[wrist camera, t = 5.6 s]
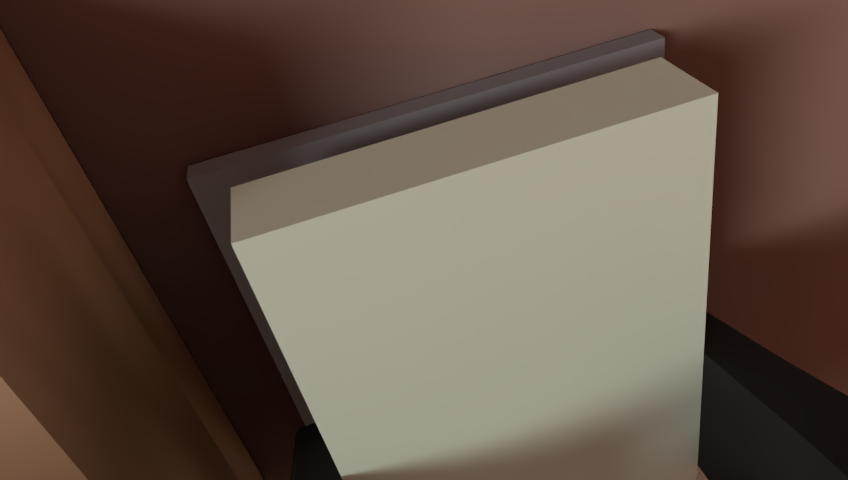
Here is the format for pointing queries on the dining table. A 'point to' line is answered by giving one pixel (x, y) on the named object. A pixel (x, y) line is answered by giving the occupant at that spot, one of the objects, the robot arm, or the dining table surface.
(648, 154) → the lid
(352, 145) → the mat
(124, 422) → the pen box
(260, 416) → the dining table surface
